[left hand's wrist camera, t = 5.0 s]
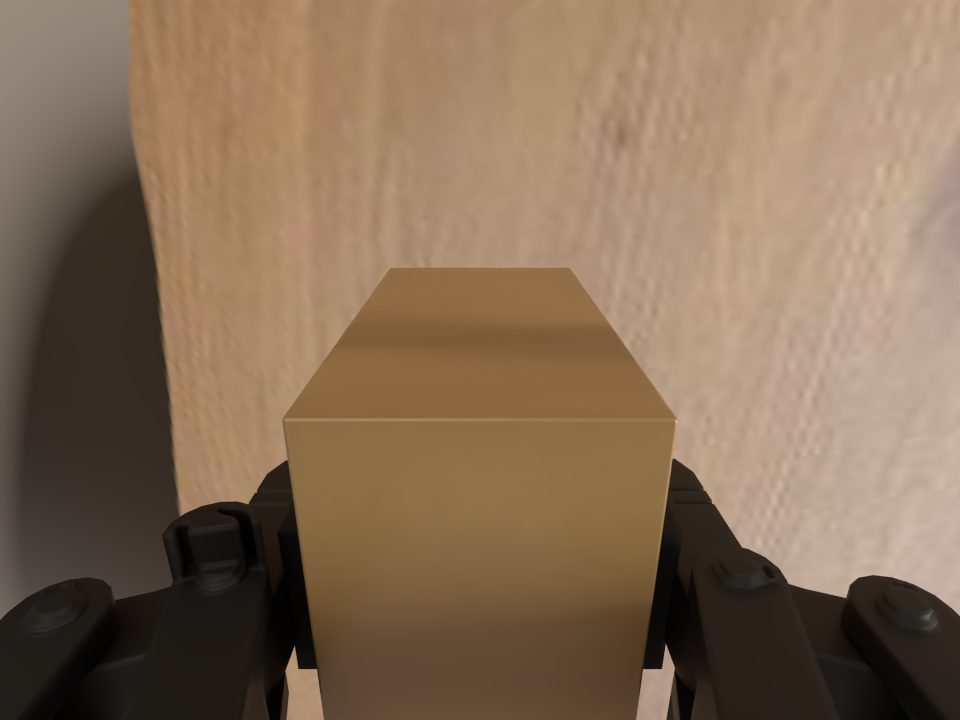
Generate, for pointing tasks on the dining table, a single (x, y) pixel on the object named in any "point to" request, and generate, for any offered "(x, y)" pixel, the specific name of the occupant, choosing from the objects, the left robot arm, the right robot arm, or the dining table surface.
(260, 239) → the dining table surface
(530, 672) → the bar
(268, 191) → the dining table surface
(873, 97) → the dining table surface
